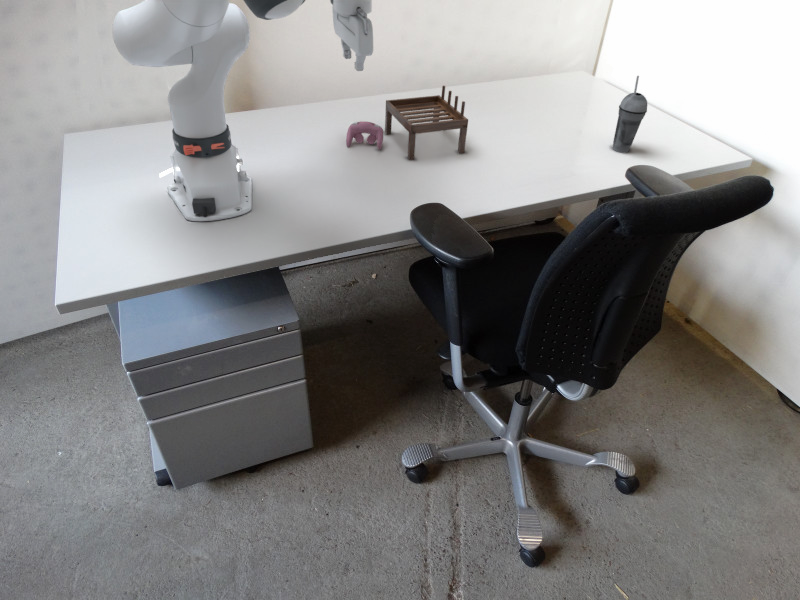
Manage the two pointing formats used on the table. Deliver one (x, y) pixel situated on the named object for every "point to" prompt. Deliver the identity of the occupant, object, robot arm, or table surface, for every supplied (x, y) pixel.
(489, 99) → the table surface
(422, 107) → the rack
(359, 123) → the video game controller
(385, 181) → the table surface
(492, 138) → the table surface
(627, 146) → the beverage cup
